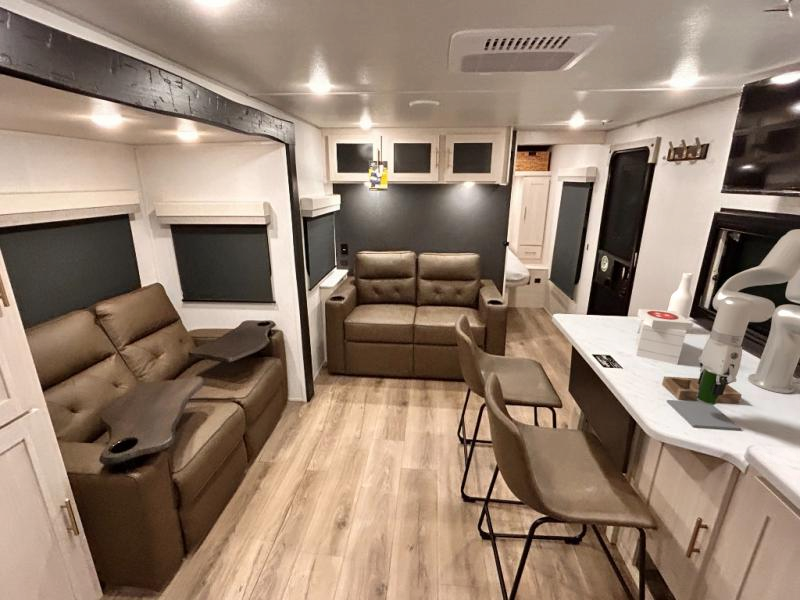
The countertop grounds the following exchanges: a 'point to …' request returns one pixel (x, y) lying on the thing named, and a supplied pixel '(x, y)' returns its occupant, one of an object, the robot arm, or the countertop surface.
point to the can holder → (696, 389)
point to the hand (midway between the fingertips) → (709, 388)
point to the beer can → (707, 387)
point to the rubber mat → (703, 415)
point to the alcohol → (682, 297)
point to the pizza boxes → (661, 335)
